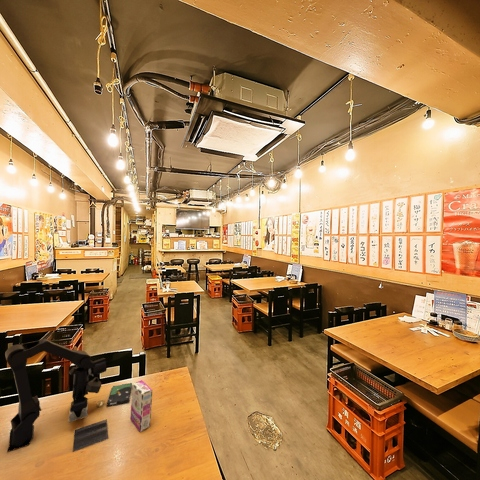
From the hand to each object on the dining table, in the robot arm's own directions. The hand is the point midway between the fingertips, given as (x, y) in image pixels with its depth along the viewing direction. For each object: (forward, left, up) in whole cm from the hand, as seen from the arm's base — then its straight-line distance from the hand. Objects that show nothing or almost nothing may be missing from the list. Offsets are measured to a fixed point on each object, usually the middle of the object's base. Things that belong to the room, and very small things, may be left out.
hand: (78, 413), depth 107 cm
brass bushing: (+9, +3, -1) cm, 10 cm away
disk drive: (+18, +6, -2) cm, 19 cm away
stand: (+5, -16, -1) cm, 17 cm away
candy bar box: (+24, -19, -1) cm, 31 cm away
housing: (0, 0, -1) cm, 1 cm away
